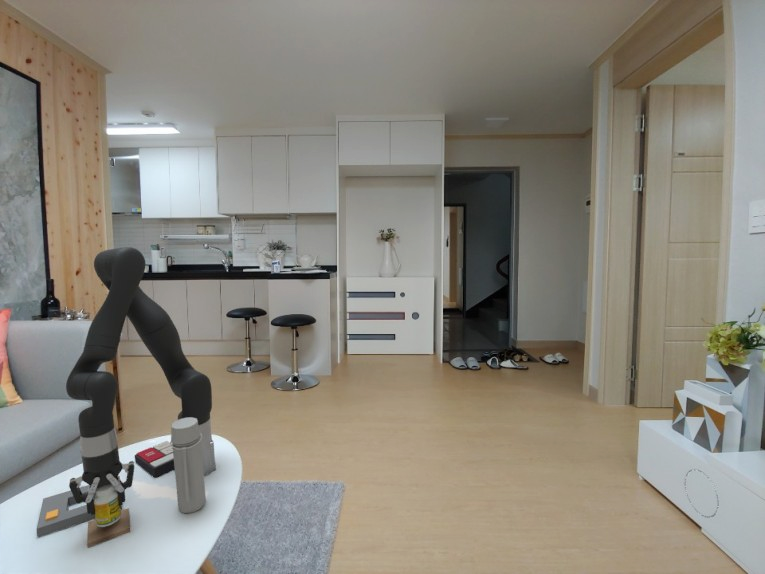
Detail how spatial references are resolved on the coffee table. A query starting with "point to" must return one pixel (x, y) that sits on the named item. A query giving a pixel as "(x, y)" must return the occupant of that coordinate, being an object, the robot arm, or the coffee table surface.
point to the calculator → (156, 459)
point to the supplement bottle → (106, 505)
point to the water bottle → (188, 464)
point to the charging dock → (62, 512)
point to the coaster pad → (108, 530)
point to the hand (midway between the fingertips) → (107, 508)
